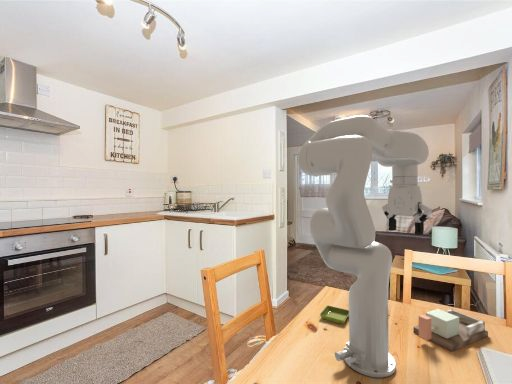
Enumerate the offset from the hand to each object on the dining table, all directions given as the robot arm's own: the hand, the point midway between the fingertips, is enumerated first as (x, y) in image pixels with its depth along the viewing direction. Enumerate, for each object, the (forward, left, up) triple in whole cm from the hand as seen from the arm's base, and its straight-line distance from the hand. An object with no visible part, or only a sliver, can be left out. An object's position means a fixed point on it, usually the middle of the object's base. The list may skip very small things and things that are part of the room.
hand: (405, 232), depth 88 cm
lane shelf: (+5, -11, -30) cm, 33 cm away
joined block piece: (-2, -11, -29) cm, 31 cm away
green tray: (-20, +12, -31) cm, 39 cm away
